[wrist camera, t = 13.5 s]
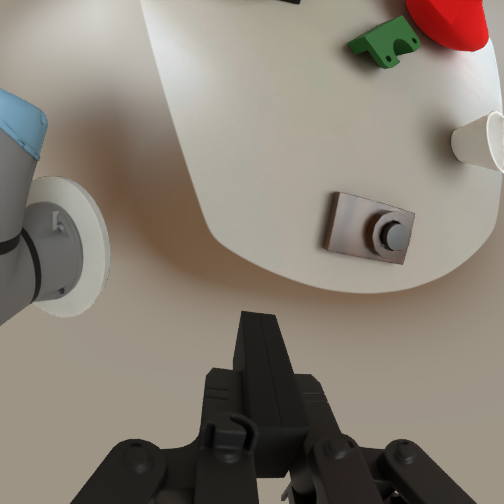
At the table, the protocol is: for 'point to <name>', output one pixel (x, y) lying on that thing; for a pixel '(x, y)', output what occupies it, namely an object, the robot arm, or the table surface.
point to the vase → (451, 22)
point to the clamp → (387, 42)
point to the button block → (364, 228)
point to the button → (394, 236)
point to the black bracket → (293, 1)
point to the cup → (481, 142)
